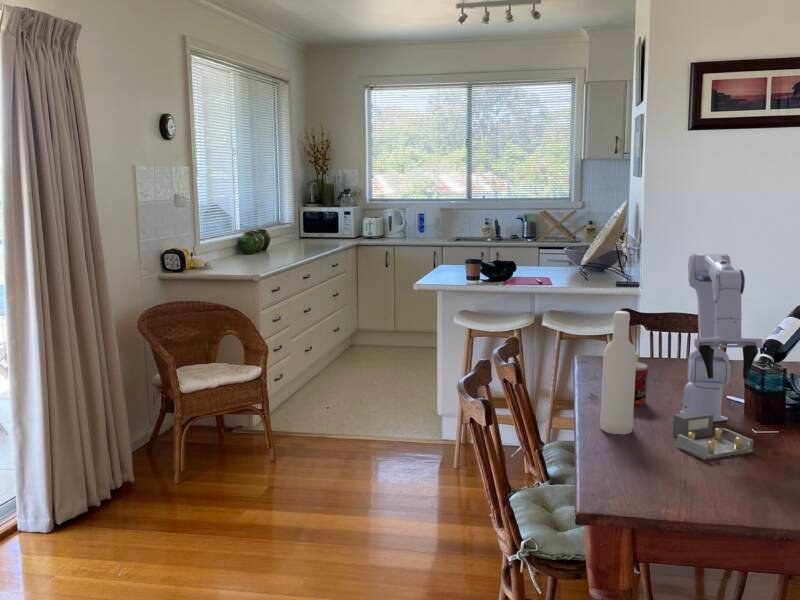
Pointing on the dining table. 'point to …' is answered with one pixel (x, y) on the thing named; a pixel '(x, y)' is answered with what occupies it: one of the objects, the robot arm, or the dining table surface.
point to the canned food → (640, 384)
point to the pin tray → (715, 444)
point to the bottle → (618, 379)
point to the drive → (693, 424)
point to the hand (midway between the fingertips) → (727, 378)
